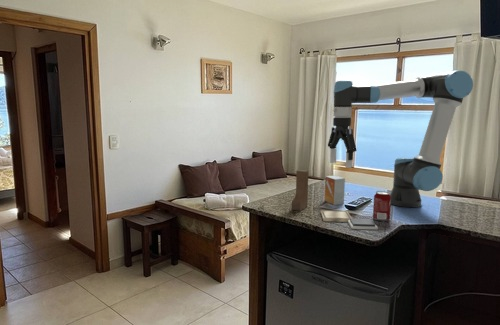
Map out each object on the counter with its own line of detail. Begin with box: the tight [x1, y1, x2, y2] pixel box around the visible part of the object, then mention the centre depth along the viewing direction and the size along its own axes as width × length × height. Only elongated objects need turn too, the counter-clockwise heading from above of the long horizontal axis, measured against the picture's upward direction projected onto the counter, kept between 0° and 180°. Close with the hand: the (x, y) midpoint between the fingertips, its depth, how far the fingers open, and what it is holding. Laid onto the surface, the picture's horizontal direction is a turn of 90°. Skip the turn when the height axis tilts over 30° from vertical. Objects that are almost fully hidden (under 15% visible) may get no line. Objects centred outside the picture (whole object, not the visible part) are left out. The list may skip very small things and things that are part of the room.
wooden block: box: [291, 169, 309, 212], centre depth 168 cm, size 9×4×18 cm, turn 149°
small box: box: [324, 175, 346, 206], centre depth 179 cm, size 8×6×13 cm
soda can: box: [372, 190, 392, 222], centre depth 152 cm, size 7×7×12 cm
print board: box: [320, 209, 353, 223], centre depth 156 cm, size 12×12×1 cm
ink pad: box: [347, 218, 379, 231], centre depth 145 cm, size 10×8×2 cm
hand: (340, 165), depth 159 cm, fingers open, 13 cm apart
